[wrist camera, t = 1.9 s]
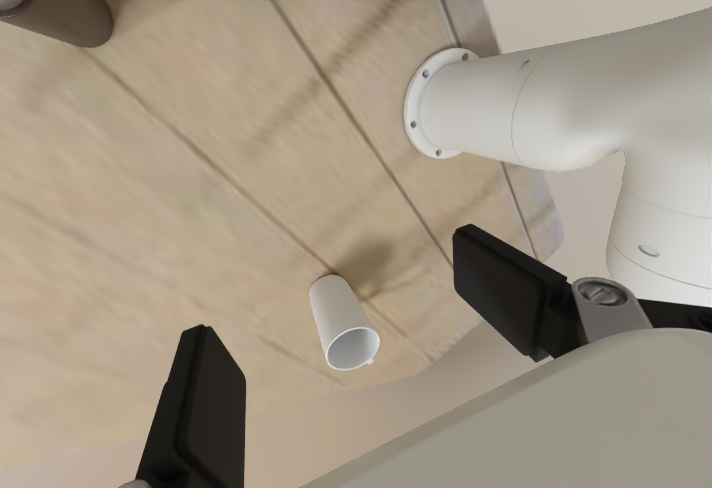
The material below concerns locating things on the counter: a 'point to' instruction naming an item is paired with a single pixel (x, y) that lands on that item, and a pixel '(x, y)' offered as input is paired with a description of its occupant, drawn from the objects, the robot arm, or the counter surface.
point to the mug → (342, 324)
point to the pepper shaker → (62, 19)
